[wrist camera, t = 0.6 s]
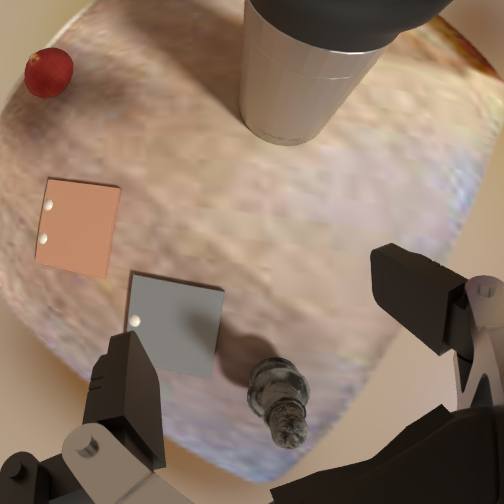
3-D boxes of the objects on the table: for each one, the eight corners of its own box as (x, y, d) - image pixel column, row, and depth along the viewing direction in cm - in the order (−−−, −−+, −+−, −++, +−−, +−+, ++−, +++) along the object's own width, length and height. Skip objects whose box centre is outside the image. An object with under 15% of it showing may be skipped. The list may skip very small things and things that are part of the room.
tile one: (135, 274, 30) (133, 274, 30) (224, 291, 31) (224, 292, 30) (126, 358, 30) (124, 360, 30) (210, 376, 31) (210, 378, 30)
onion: (35, 100, 29) (0, 74, 21) (61, 61, 29) (31, 30, 21) (65, 113, 29) (29, 85, 21) (92, 71, 29) (64, 37, 21)
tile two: (51, 180, 29) (48, 179, 29) (121, 189, 30) (119, 188, 29) (38, 261, 29) (35, 262, 29) (106, 278, 30) (104, 278, 29)
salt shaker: (242, 402, 31) (247, 474, 19) (249, 352, 31) (258, 410, 19) (297, 406, 31) (324, 474, 19) (306, 356, 31) (343, 413, 19)
